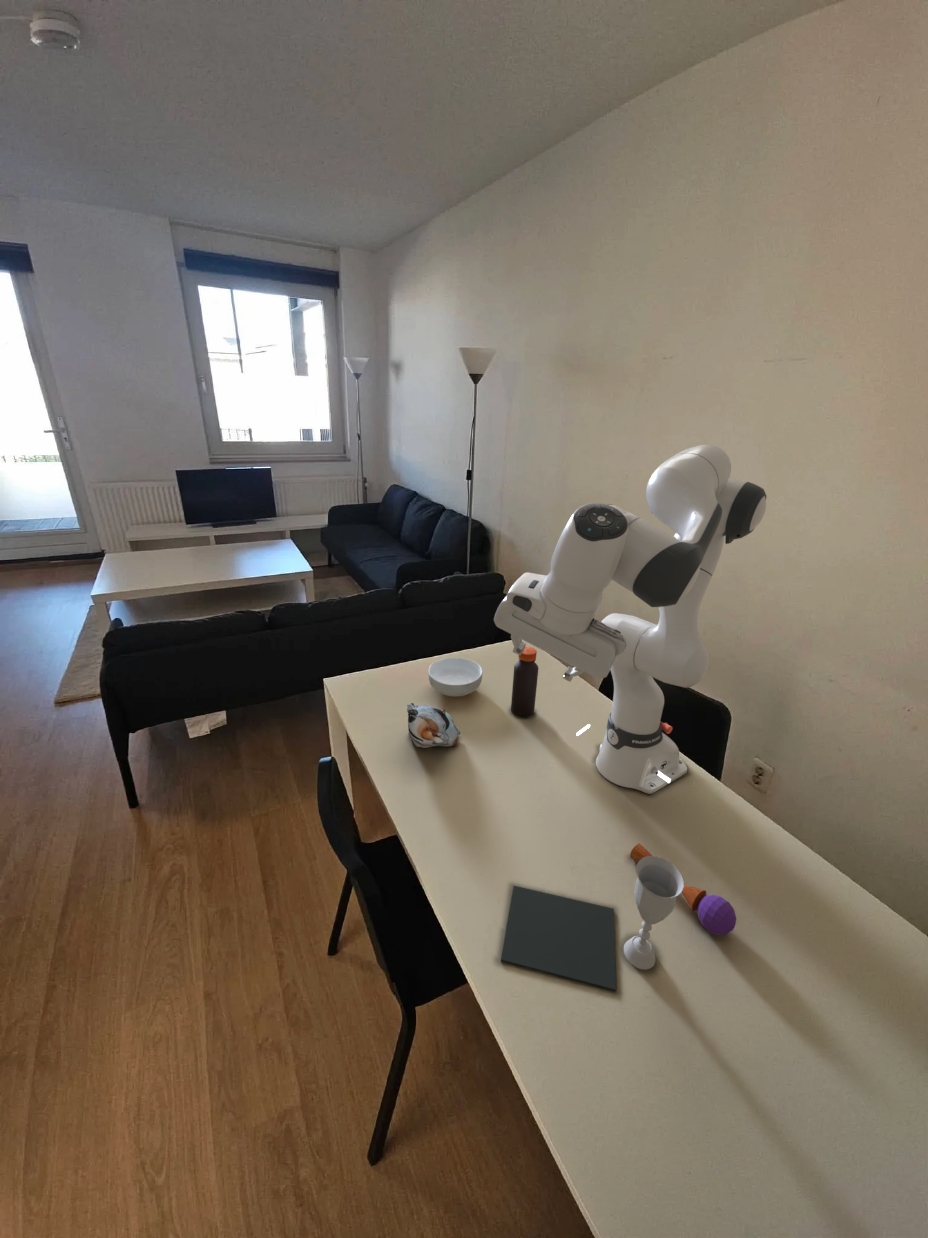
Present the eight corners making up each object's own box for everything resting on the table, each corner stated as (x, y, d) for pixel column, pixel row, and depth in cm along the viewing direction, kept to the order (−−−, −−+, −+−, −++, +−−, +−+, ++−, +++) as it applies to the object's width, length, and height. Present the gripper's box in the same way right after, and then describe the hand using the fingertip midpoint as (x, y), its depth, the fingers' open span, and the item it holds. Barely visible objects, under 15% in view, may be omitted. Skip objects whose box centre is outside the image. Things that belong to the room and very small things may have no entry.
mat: (613, 910, 90) (613, 908, 90) (615, 991, 78) (616, 990, 78) (513, 887, 94) (513, 885, 94) (500, 961, 81) (500, 959, 81)
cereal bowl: (426, 676, 164) (427, 657, 161) (477, 675, 166) (478, 656, 163) (429, 705, 148) (429, 685, 146) (485, 703, 150) (486, 683, 148)
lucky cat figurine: (469, 740, 134) (464, 716, 123) (433, 770, 130) (424, 747, 119) (435, 703, 142) (427, 677, 131) (400, 730, 138) (389, 705, 127)
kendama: (648, 834, 101) (747, 907, 85) (641, 859, 103) (737, 935, 87) (629, 842, 98) (728, 919, 82) (622, 868, 99) (718, 949, 84)
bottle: (538, 711, 147) (544, 650, 139) (525, 721, 143) (531, 658, 135) (519, 702, 152) (524, 642, 144) (506, 711, 147) (510, 650, 139)
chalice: (664, 981, 79) (688, 902, 72) (619, 971, 81) (638, 892, 73) (657, 937, 86) (678, 860, 79) (616, 928, 87) (633, 852, 80)
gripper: (636, 625, 76) (605, 681, 85) (516, 568, 81) (499, 627, 91) (624, 650, 71) (592, 707, 81) (498, 588, 77) (482, 648, 86)
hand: (542, 664), depth 86 cm, fingers open, 8 cm apart
